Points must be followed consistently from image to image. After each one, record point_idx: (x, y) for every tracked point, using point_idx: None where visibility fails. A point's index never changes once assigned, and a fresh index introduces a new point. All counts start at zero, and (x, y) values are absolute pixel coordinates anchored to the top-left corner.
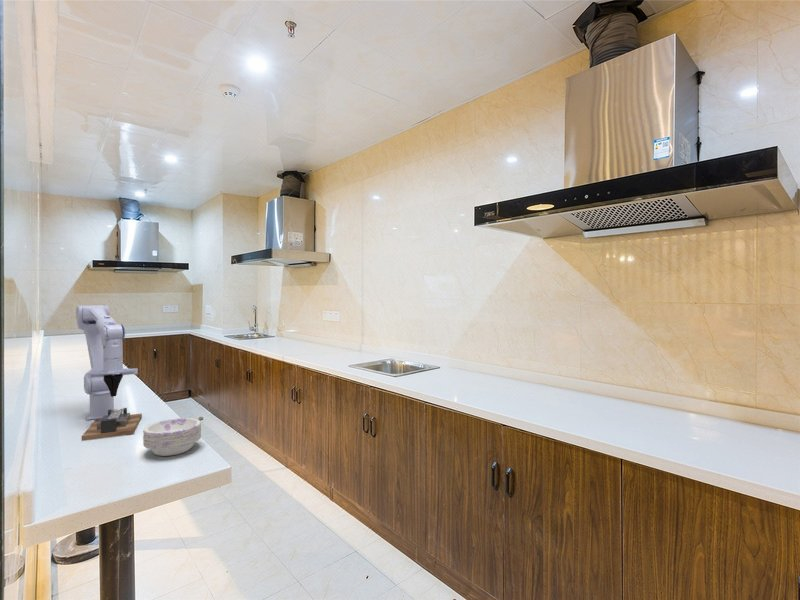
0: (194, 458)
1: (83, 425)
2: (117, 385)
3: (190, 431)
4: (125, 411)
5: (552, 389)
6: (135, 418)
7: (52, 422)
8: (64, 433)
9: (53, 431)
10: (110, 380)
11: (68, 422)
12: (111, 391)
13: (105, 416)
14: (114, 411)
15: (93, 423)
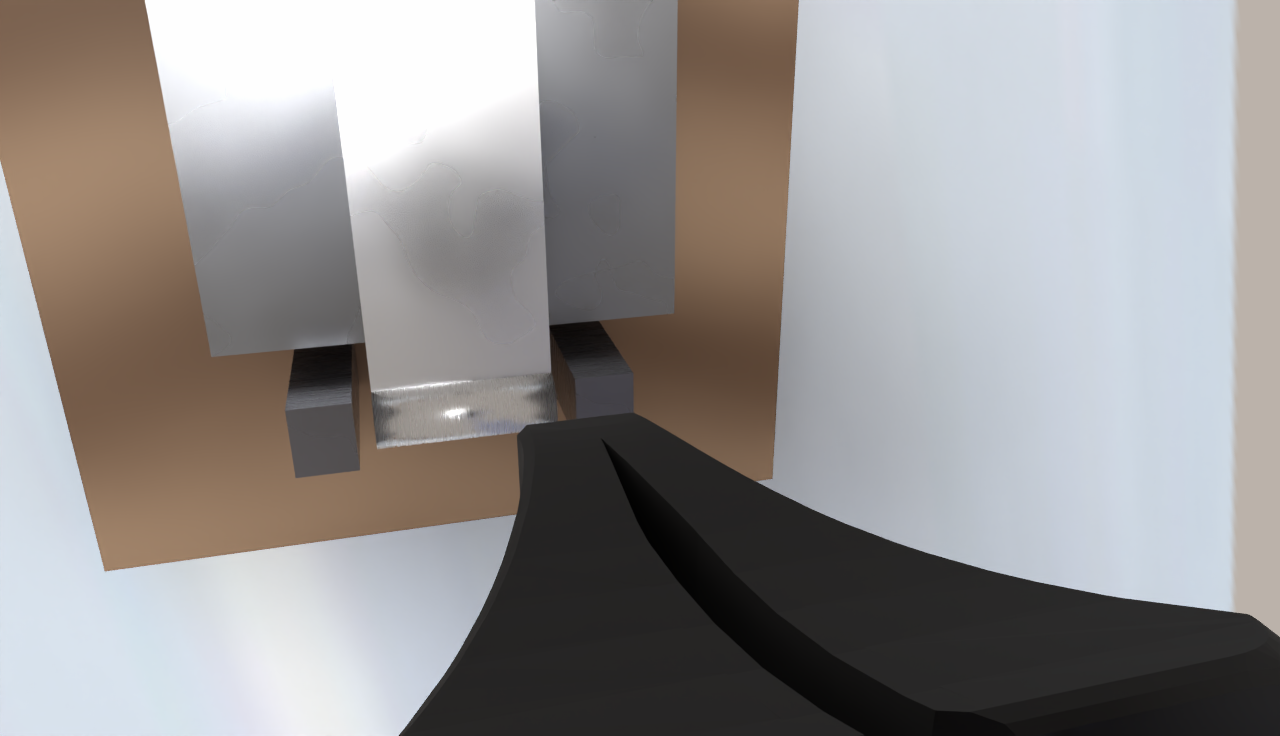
0: None
1: (884, 360)
2: (490, 601)
3: None
4: (306, 381)
5: None
6: (106, 263)
7: (1185, 590)
8: (1059, 45)
9: (1171, 209)
10: (914, 673)
11: (1049, 546)
12: (666, 465)
13: (629, 240)
14: (511, 373)
15: (770, 200)
